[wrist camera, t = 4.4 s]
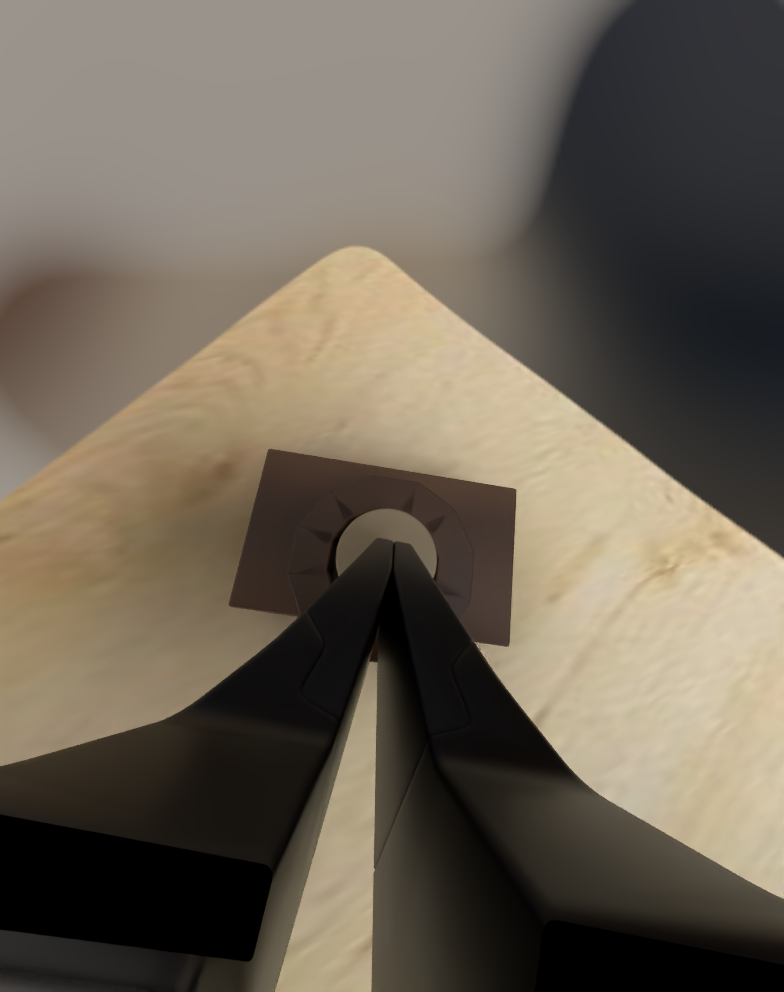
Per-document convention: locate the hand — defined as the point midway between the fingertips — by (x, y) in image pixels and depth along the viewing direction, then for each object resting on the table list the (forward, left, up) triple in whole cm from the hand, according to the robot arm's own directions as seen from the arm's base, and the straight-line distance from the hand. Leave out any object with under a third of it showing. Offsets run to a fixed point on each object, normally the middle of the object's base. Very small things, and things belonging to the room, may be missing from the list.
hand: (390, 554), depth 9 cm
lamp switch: (0, 0, -3) cm, 3 cm away
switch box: (+1, 0, -10) cm, 10 cm away
